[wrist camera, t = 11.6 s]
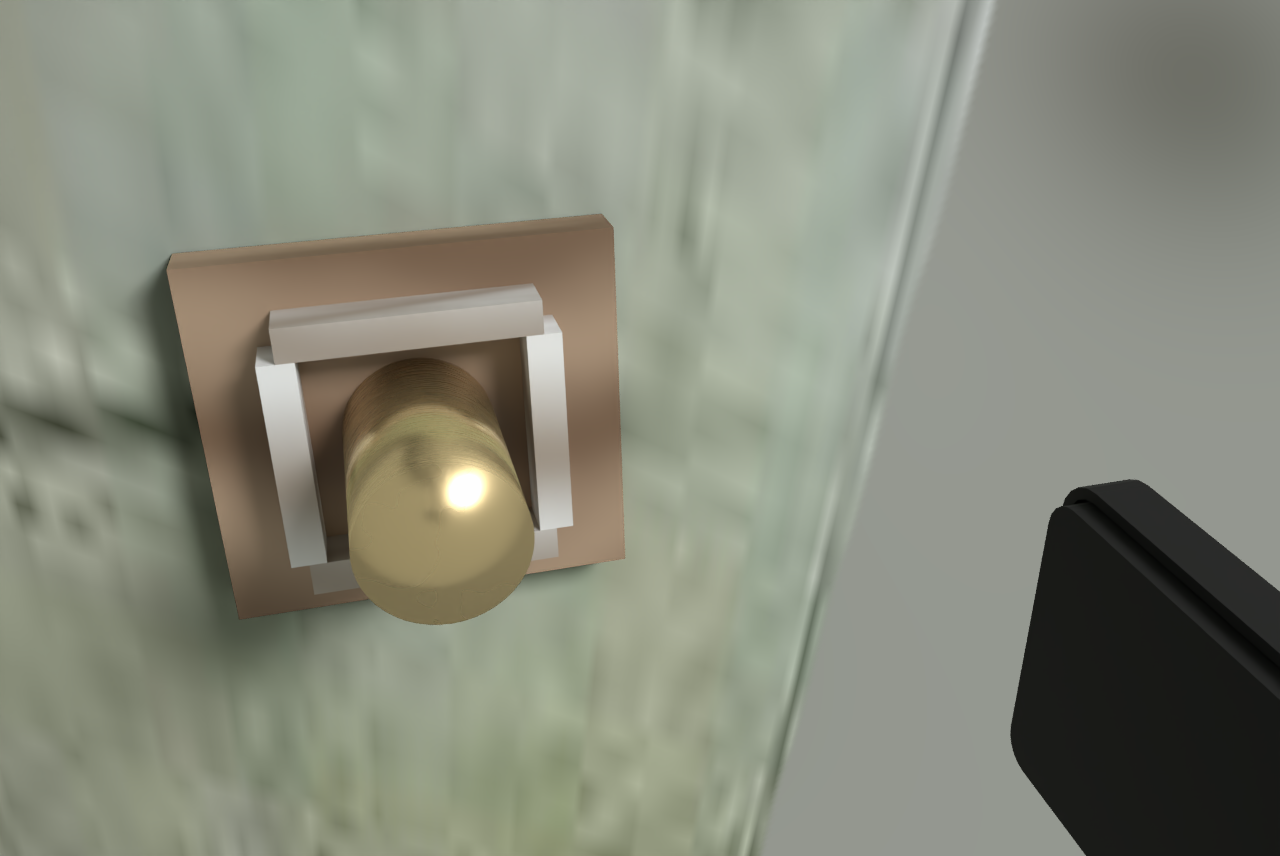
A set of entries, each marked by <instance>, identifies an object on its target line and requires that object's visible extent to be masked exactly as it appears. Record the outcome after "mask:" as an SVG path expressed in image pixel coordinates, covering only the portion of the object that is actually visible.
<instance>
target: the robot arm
mask: <svg viewBox="0 0 1280 856" xmlns="http://www.w3.org/2000/svg"><path fill="white" fill-rule="evenodd" d="M1011 744H1012V748H1013V752H1014V755H1015V757H1016V760H1017V762H1018V764H1019V766H1020V767H1021V769H1022V771H1023V772H1024V773H1025V775H1026V776H1027V777H1028V779H1029V780H1030V781H1031V783H1032V784H1033V785H1034V787H1035V788H1036V789H1037V791H1038V792H1039V793H1040V795H1041V796H1042V797H1043V799H1044V800H1045V801H1046V803H1047V804H1048V805H1049V807H1050V808H1051V809H1052V811H1053V812H1054V813H1055V815H1056V816H1057V817H1058V819H1059V820H1060V821H1061V823H1062V824H1063V825H1064V827H1065V828H1066V829H1067V831H1068V832H1069V833H1070V835H1071V836H1072V837H1073V839H1074V840H1075V841H1076V843H1077V844H1078V845H1079V847H1080V848H1081V849H1082V851H1083V852H1084V854H1085V855H1086V856H1280V591H1278V590H1277V589H1276V588H1275V587H1273V586H1272V585H1271V584H1270V583H1268V582H1267V581H1266V580H1265V579H1263V578H1262V577H1261V576H1260V575H1258V574H1257V573H1256V572H1255V571H1254V570H1252V569H1251V568H1250V567H1249V566H1247V565H1246V564H1245V563H1244V562H1242V561H1241V560H1240V559H1239V558H1237V557H1236V556H1235V555H1234V554H1232V553H1231V552H1230V551H1229V550H1227V549H1226V548H1225V547H1224V546H1223V545H1221V544H1220V543H1219V542H1217V541H1216V540H1215V539H1214V538H1212V537H1211V536H1210V535H1209V534H1208V533H1206V532H1205V531H1204V530H1203V529H1201V528H1200V527H1199V526H1198V525H1196V524H1195V523H1194V522H1193V521H1191V520H1190V519H1189V518H1188V517H1186V516H1185V515H1184V514H1183V513H1181V512H1180V511H1179V510H1178V509H1176V508H1175V507H1174V506H1173V505H1172V504H1170V503H1169V502H1168V501H1167V500H1165V499H1164V498H1163V497H1162V496H1160V495H1159V494H1158V493H1157V492H1155V491H1154V490H1153V489H1152V488H1150V487H1149V486H1148V485H1146V484H1144V483H1143V482H1141V481H1139V480H1130V479H1129V480H1123V481H1117V482H1110V483H1104V484H1098V485H1092V486H1085V487H1078V488H1076V489H1074V490H1072V491H1071V492H1070V493H1069V494H1068V496H1067V497H1066V498H1065V501H1064V504H1063V506H1061V507H1059V508H1056V509H1055V511H1054V512H1053V513H1052V515H1051V517H1050V520H1049V524H1048V529H1047V535H1046V540H1045V546H1044V551H1043V556H1042V562H1041V568H1040V573H1039V578H1038V583H1037V589H1036V594H1035V600H1034V605H1033V611H1032V616H1031V621H1030V627H1029V632H1028V637H1027V643H1026V648H1025V653H1024V659H1023V664H1022V670H1021V675H1020V680H1019V686H1018V691H1017V697H1016V702H1015V707H1014V713H1013V718H1012V724H1011Z"/></svg>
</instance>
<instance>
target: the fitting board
mask: <svg viewBox="0 0 1280 856" xmlns="http://www.w3.org/2000/svg"><path fill="white" fill-rule="evenodd" d="M166 271H167V275H168V280H169V285H170V290H171V295H172V299H173V304H174V309H175V314H176V319H177V323H178V328H179V333H180V338H181V343H182V347H183V352H184V357H185V362H186V367H187V371H188V376H189V381H190V386H191V391H192V395H193V400H194V405H195V410H196V415H197V419H198V424H199V429H200V434H201V439H202V443H203V448H204V453H205V458H206V463H207V467H208V472H209V477H210V482H211V487H212V491H213V496H214V501H215V506H216V511H217V515H218V520H219V525H220V530H221V535H222V539H223V544H224V549H225V554H226V559H227V563H228V568H229V573H230V578H231V583H232V587H233V592H234V597H235V602H236V607H237V611H238V616H239V620H240V619H247V618H253V617H259V616H266V615H272V614H278V613H285V612H291V611H297V610H303V609H310V608H316V607H322V606H329V605H335V604H341V603H348V602H354V601H360V600H367V599H369V598H368V597H367V596H366V594H365V593H364V592H363V591H362V589H361V588H360V586H359V584H358V583H357V581H356V579H355V576H354V574H353V571H352V567H351V563H350V553H349V537H348V520H347V503H346V486H345V469H344V452H343V435H342V424H343V416H344V412H345V409H346V406H347V404H348V401H349V399H350V398H351V396H352V394H353V392H354V391H355V390H356V388H357V387H358V386H359V385H360V384H361V383H362V382H363V381H364V380H365V379H366V378H367V377H368V376H369V375H371V374H372V373H373V372H375V371H376V370H378V369H380V368H381V367H383V366H386V365H388V364H390V363H393V362H396V361H399V360H403V359H409V358H422V357H423V358H434V359H439V360H443V361H446V362H449V363H452V364H454V365H456V366H459V367H461V368H462V369H464V370H465V371H467V372H468V373H470V374H471V375H472V376H473V377H474V378H475V379H476V380H477V381H478V382H479V383H480V384H481V385H482V387H483V388H484V390H485V391H486V393H487V395H488V397H489V399H490V401H491V404H492V406H493V409H494V412H495V415H496V418H497V421H498V424H499V426H500V429H501V432H502V435H503V438H504V441H505V443H506V446H507V449H508V452H509V455H510V458H511V461H512V463H513V466H514V469H515V472H516V475H517V478H518V480H519V483H520V486H521V489H522V492H523V495H524V498H525V500H526V503H527V506H528V509H529V512H530V515H531V518H532V521H533V526H534V533H535V544H534V551H533V556H532V559H531V562H530V565H529V567H528V570H527V572H526V574H531V573H537V572H544V571H550V570H556V569H563V568H569V567H575V566H581V565H588V564H594V563H600V562H607V561H613V560H619V559H625V540H624V512H623V484H622V456H621V428H620V399H619V371H618V343H617V315H616V286H615V258H614V230H613V226H612V225H611V224H610V223H609V222H608V221H607V219H606V218H605V217H604V216H603V215H602V214H595V215H584V216H574V217H563V218H552V219H541V220H530V221H520V222H509V223H498V224H487V225H476V226H466V227H455V228H444V229H433V230H423V231H412V232H401V233H390V234H379V235H369V236H358V237H347V238H336V239H325V240H315V241H304V242H293V243H282V244H272V245H261V246H250V247H239V248H228V249H218V250H207V251H196V252H185V253H174V254H172V256H171V258H170V261H169V264H168V267H167V270H166Z"/></svg>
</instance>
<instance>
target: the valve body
mask: <svg viewBox="0 0 1280 856" xmlns="http://www.w3.org/2000/svg"><path fill="white" fill-rule="evenodd" d="M342 435H343V452H344V469H345V486H346V503H347V520H348V537H349V553H350V563H351V567H352V571H353V574H354V576H355V579H356V581H357V583H358V584H359V586H360V588H361V589H362V591H363V592H364V593H365V594H366V596H367V597H368V598H369V599H370V600H371V601H372V602H373V603H374V604H375V605H377V606H378V607H380V608H381V609H382V610H384V611H385V612H387V613H389V614H391V615H393V616H395V617H397V618H400V619H403V620H406V621H410V622H414V623H419V624H428V625H442V624H452V623H457V622H461V621H465V620H468V619H471V618H474V617H476V616H479V615H481V614H483V613H485V612H487V611H489V610H490V609H492V608H494V607H495V606H497V605H498V604H499V603H501V602H502V601H503V600H505V599H506V598H507V597H508V596H509V595H510V594H511V593H512V592H513V591H514V590H515V588H516V587H517V586H518V585H519V583H520V582H521V580H522V579H523V577H524V576H525V574H526V572H527V570H528V567H529V565H530V562H531V559H532V556H533V551H534V544H535V533H534V526H533V521H532V518H531V515H530V512H529V509H528V506H527V503H526V500H525V498H524V495H523V492H522V489H521V486H520V483H519V480H518V478H517V475H516V472H515V469H514V466H513V463H512V461H511V458H510V455H509V452H508V449H507V446H506V443H505V441H504V438H503V435H502V432H501V429H500V426H499V424H498V421H497V418H496V415H495V412H494V409H493V406H492V404H491V401H490V399H489V397H488V395H487V393H486V391H485V390H484V388H483V387H482V385H481V384H480V383H479V382H478V381H477V380H476V379H475V378H474V377H473V376H472V375H471V374H470V373H468V372H467V371H465V370H464V369H462V368H461V367H459V366H456V365H454V364H452V363H449V362H446V361H443V360H439V359H434V358H423V357H422V358H409V359H403V360H399V361H396V362H393V363H390V364H388V365H386V366H383V367H381V368H380V369H378V370H376V371H375V372H373V373H372V374H371V375H369V376H368V377H367V378H366V379H365V380H364V381H363V382H362V383H361V384H360V385H359V386H358V387H357V388H356V390H355V391H354V392H353V394H352V396H351V398H350V399H349V401H348V404H347V406H346V409H345V412H344V416H343V424H342Z"/></svg>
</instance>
